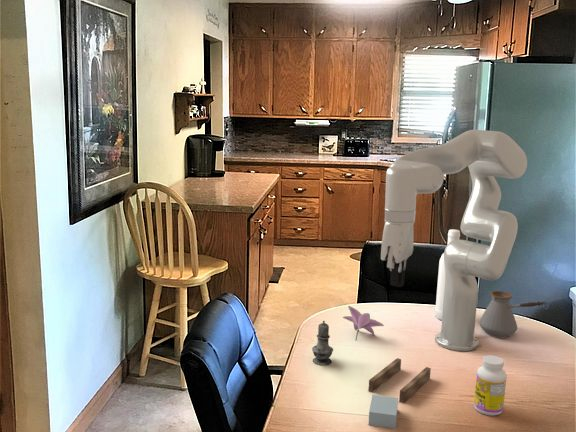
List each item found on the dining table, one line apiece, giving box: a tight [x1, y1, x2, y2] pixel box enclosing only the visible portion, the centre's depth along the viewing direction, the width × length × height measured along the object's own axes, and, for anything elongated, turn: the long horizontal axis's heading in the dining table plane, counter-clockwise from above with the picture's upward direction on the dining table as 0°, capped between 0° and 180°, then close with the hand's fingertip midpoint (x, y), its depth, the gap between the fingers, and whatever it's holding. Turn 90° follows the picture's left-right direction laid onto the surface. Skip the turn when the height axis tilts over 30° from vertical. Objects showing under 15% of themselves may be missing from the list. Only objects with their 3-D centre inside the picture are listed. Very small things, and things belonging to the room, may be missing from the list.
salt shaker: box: [311, 320, 334, 366], centre depth 166 cm, size 6×6×12 cm
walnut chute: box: [367, 358, 431, 404], centre depth 154 cm, size 16×10×3 cm, turn 144°
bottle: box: [434, 228, 461, 322], centre depth 198 cm, size 8×8×30 cm
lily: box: [342, 305, 385, 341], centre depth 183 cm, size 12×12×10 cm
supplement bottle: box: [473, 355, 507, 416], centre depth 142 cm, size 7×7×13 cm
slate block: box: [367, 394, 399, 430], centre depth 139 cm, size 8×6×4 cm
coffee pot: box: [478, 290, 549, 339], centre depth 184 cm, size 21×12×15 cm, turn 34°
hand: (397, 285), depth 154 cm, fingers closed
